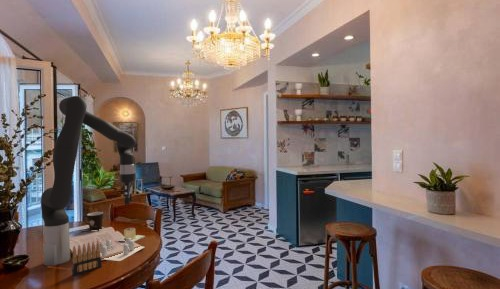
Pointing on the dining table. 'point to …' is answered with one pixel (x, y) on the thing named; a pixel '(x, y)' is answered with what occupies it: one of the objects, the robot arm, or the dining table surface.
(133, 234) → the brass nut
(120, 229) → the dining table surface
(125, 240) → the rubber mat
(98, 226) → the coffee mug
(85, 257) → the ammunition clip
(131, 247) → the spacer plate
